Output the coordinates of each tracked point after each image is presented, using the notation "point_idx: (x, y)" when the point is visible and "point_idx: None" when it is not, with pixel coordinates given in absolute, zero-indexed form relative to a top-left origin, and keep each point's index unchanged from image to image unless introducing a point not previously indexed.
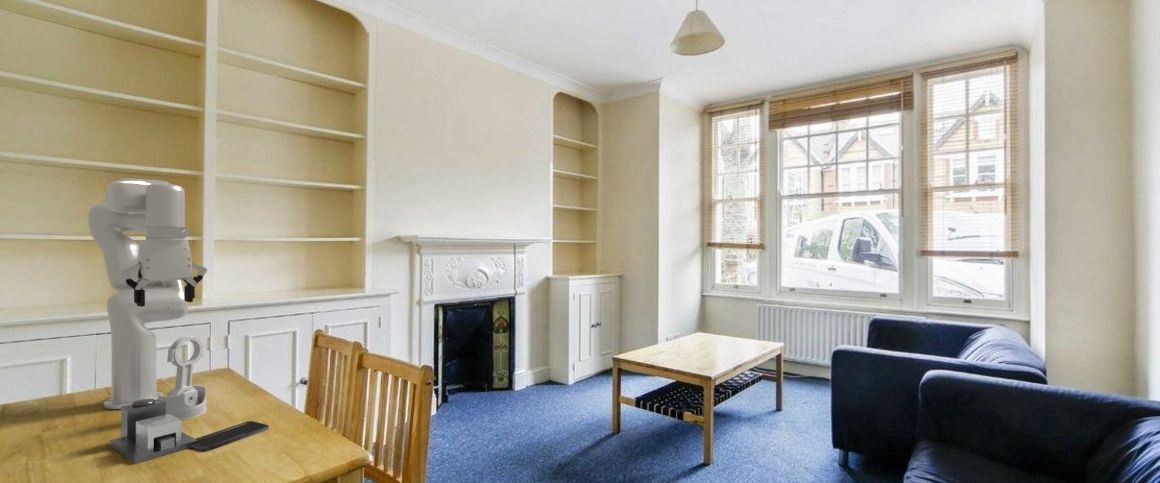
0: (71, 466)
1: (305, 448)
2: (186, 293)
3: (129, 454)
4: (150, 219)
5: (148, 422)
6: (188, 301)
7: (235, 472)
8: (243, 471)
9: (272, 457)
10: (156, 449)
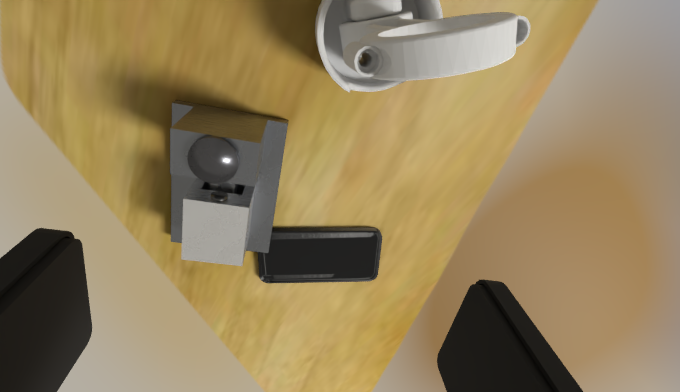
0: (96, 152)
1: (337, 369)
2: (490, 387)
3: (171, 214)
4: None
5: (197, 227)
6: (442, 350)
7: (243, 362)
8: (250, 366)
9: (296, 360)
10: None
